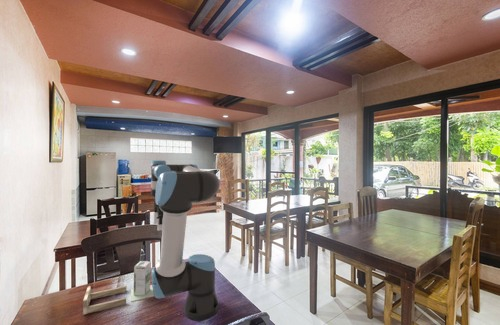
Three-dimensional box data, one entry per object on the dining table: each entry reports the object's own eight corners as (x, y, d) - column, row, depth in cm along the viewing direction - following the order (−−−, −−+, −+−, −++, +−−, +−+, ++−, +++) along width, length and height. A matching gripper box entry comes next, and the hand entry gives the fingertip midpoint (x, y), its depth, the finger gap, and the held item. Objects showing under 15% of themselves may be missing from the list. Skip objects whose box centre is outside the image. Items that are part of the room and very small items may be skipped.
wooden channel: (126, 304, 107) (126, 291, 107) (83, 314, 100) (83, 300, 99) (126, 290, 118) (126, 278, 118) (87, 299, 111) (87, 286, 110)
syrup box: (139, 289, 119) (139, 260, 118) (150, 289, 119) (150, 261, 118) (133, 295, 113) (133, 265, 113) (145, 295, 113) (145, 266, 113)
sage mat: (154, 296, 113) (154, 295, 113) (130, 302, 109) (130, 301, 109) (152, 285, 123) (152, 284, 123) (130, 290, 118) (130, 289, 118)
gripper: (170, 190, 119) (169, 232, 119) (162, 185, 140) (161, 220, 141) (154, 191, 115) (154, 234, 115) (148, 186, 137) (148, 222, 137)
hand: (158, 226), depth 128 cm, fingers open, 13 cm apart
